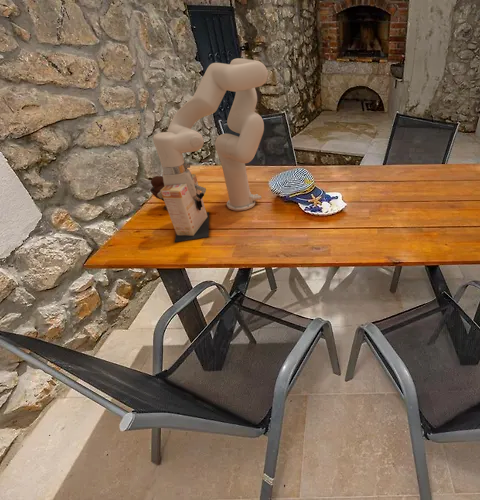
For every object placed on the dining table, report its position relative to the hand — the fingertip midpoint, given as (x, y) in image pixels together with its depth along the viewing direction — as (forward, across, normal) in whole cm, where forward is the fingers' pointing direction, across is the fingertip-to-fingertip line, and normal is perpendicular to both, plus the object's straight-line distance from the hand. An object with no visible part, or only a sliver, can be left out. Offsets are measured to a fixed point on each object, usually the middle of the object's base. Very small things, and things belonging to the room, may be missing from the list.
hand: (187, 210), depth 125 cm
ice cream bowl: (+8, +10, -20) cm, 24 cm away
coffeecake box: (+7, 0, 0) cm, 7 cm away
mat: (+8, 0, 0) cm, 8 cm away
